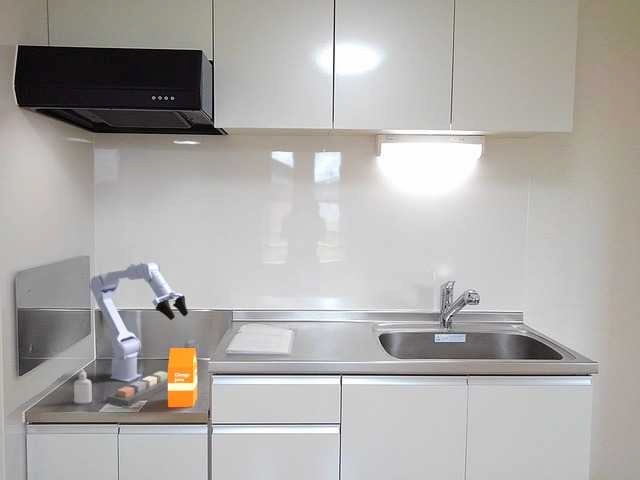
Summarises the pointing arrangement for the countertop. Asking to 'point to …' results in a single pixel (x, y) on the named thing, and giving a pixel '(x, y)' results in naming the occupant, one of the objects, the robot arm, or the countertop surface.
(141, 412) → the countertop surface
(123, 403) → the grey slotted tray
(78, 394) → the eye dropper bottle
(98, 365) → the countertop surface
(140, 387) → the slate key
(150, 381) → the cream key
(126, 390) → the terracotta key
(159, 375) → the sage key
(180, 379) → the orange juice
